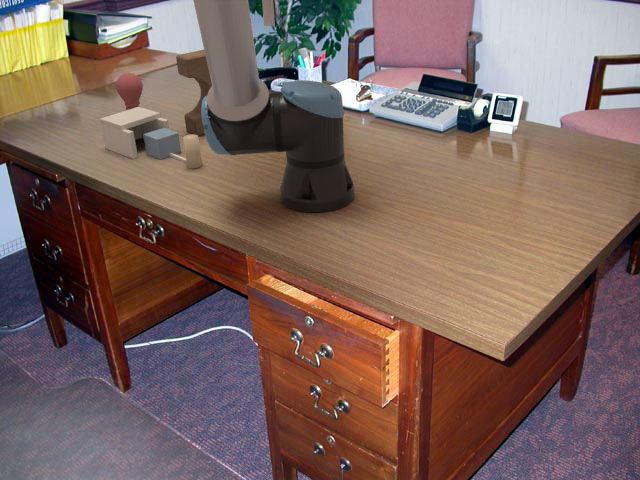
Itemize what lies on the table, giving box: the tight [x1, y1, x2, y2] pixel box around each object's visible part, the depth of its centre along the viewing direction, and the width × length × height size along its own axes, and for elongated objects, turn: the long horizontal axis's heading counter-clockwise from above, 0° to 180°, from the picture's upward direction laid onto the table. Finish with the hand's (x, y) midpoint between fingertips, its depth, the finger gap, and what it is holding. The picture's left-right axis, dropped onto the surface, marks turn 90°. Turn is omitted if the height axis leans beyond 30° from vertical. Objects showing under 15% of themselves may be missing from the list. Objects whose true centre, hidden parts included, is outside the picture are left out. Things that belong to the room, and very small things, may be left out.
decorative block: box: [175, 49, 212, 137], centre depth 181 cm, size 11×6×20 cm, turn 127°
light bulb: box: [115, 72, 144, 111], centre depth 196 cm, size 7×7×12 cm
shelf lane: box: [99, 107, 171, 160], centre depth 175 cm, size 12×11×8 cm
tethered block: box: [143, 128, 203, 170], centre depth 167 cm, size 17×6×7 cm, turn 44°
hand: (248, 31), depth 157 cm, fingers open, 13 cm apart
